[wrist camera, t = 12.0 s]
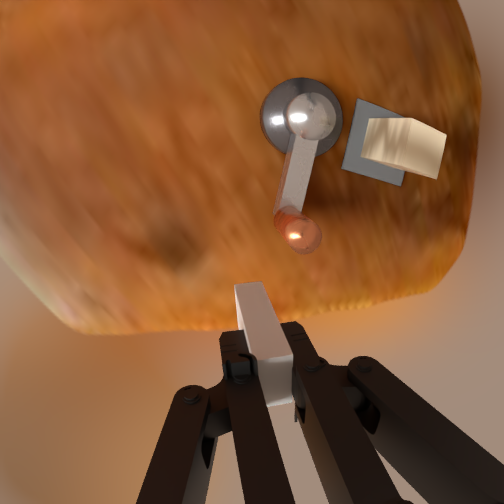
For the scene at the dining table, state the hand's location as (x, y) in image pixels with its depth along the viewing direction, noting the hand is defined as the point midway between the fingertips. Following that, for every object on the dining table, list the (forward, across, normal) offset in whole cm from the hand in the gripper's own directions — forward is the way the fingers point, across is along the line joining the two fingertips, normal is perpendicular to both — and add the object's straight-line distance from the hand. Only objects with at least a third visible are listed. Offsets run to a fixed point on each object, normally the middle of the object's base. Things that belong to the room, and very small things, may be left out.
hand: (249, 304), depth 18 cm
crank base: (+20, +9, +11) cm, 25 cm away
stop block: (+20, +20, +8) cm, 29 cm away
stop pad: (+20, +20, +8) cm, 30 cm away
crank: (+18, +8, +6) cm, 21 cm away
